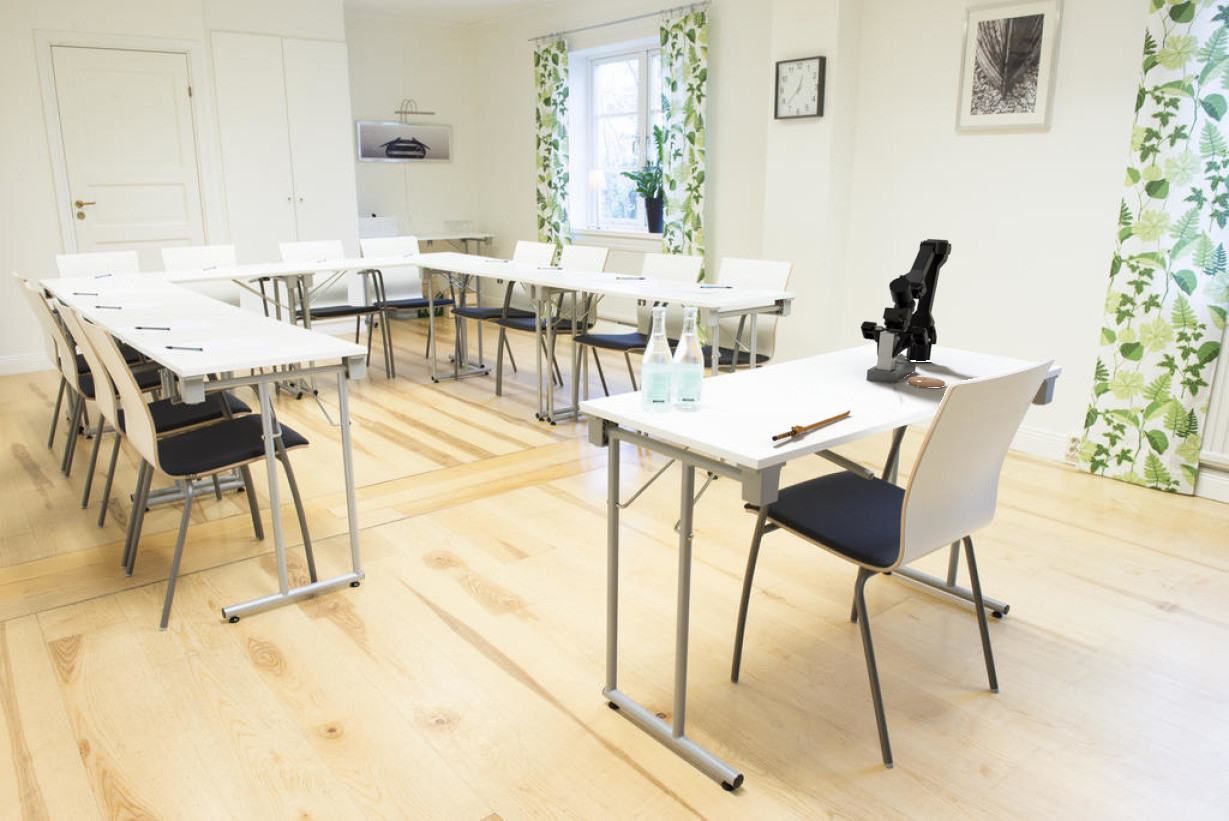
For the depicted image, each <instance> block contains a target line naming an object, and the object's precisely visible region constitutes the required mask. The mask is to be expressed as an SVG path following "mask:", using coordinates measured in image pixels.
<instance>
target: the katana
mask: <svg viewBox="0 0 1229 821" xmlns="http://www.w3.org/2000/svg"><path fill="white" fill-rule="evenodd" d="M850 413H851V410H847V411H846V412H842V413H840V414H838V415H835V416H832V417H829V418H826V419H824V420H821V421H818V422H815V423H813V424H809V425H805V426H802V425H801V426H800V425H795V426H791V428H790V431H787V432H783V433H780V434H777V435H774V436H772V437H771V439H772V441H773V442H776V441H779V440H783V439H785V438H788V437H790V438H792V437H795V436H796V437H799V436H801V435H803V434H807V432H809V431H810V432H811V431H812V430H814V429H818V428H821V427H823V426H827V425H829V424H831V423H834V422H836V421H839V420H841V419H844V418H846V417H848V416H849V415H850ZM798 435H799V436H798ZM796 437H795V438H796Z"/></svg>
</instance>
